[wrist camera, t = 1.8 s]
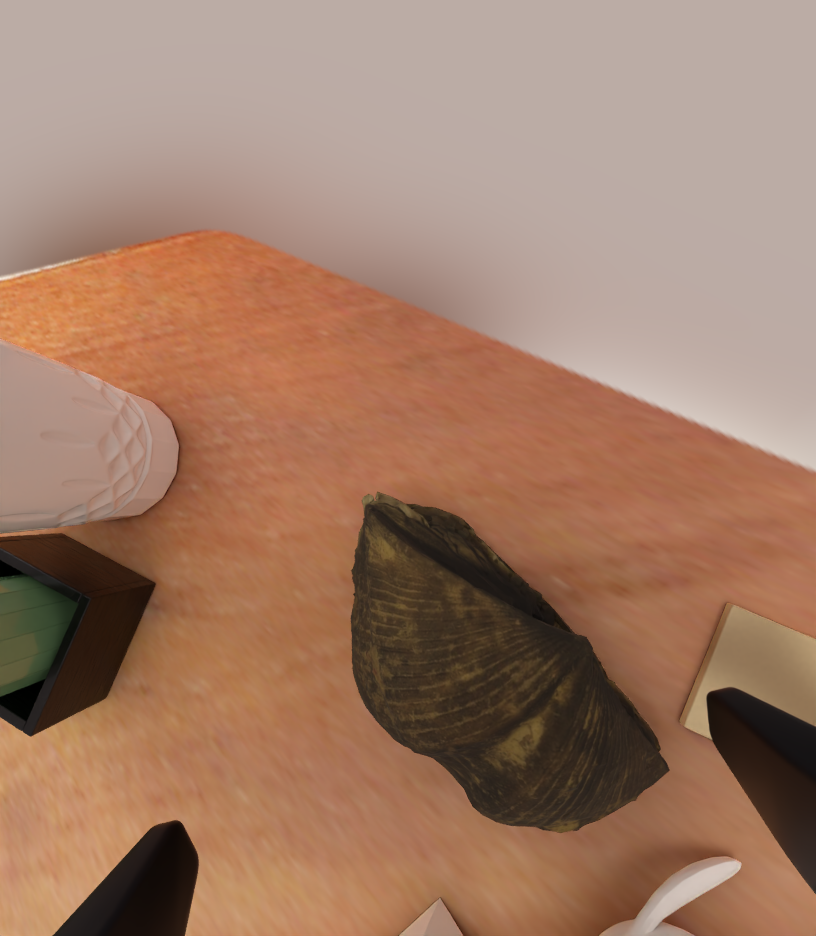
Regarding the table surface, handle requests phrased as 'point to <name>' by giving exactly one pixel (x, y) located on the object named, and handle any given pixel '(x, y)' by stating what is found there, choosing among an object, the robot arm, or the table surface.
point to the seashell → (488, 676)
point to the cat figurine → (676, 897)
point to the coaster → (755, 667)
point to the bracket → (433, 923)
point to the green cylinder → (29, 630)
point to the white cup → (76, 446)
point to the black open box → (74, 626)
